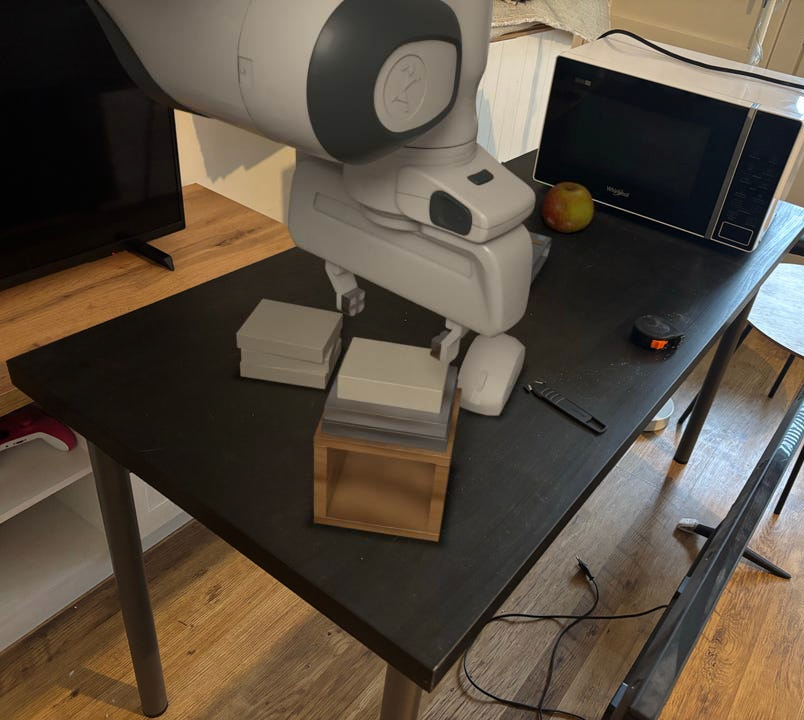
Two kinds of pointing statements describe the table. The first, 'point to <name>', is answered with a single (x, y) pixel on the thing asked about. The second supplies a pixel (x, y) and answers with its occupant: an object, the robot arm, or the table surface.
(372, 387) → the beige flat block
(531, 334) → the table surface
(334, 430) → the oak stand
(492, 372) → the computer mouse
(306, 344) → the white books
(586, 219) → the fruit
